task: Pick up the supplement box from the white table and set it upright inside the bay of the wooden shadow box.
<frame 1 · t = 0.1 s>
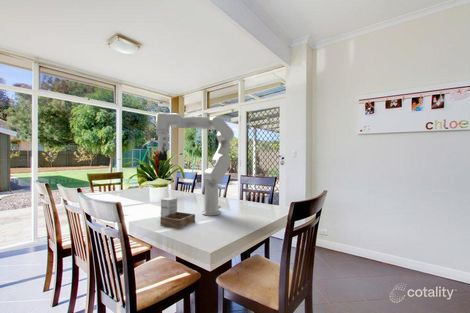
hand: (162, 160, 137), 37 cm above the table, tool pointing down, fingers open, 9 cm apart
supplement box: (169, 218, 141), on the table
wooden shadow box: (178, 223, 130), on the table
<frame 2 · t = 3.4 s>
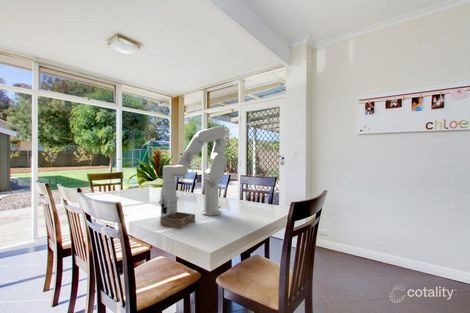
hand: (169, 211, 141), 4 cm above the table, tool pointing down, fingers closed on supplement box, 7 cm apart
supplement box: (169, 218, 141), on the table, touching gripper
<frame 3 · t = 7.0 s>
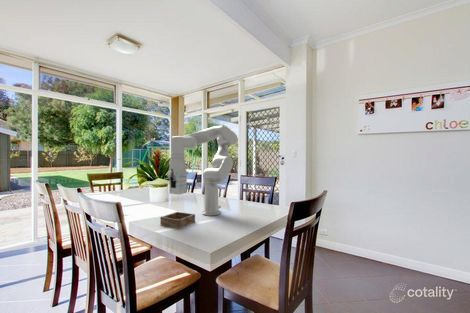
hand: (178, 186, 130), 22 cm above the table, tool pointing down, fingers closed on supplement box, 7 cm apart
supplement box: (178, 193, 130), point 18 cm above the table, touching gripper
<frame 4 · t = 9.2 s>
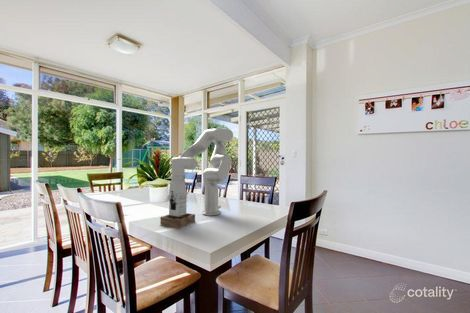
hand: (177, 208, 130), 9 cm above the table, tool pointing down, fingers closed on supplement box, 7 cm apart
supplement box: (177, 215, 130), point 5 cm above the table, touching gripper
when the fingers open (7 cm above the table, at t = 10.8 s): supplement box drops 2 cm, resting on wooden shadow box.
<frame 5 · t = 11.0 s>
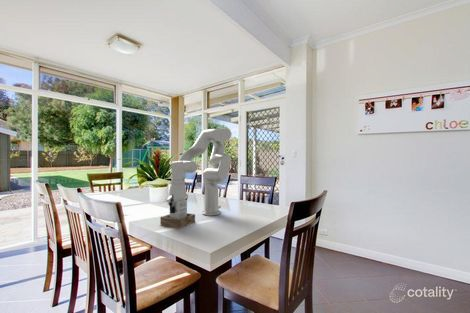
hand: (178, 211, 130), 7 cm above the table, tool pointing down, fingers open, 9 cm apart
supplement box: (178, 221, 130), point 1 cm above the table, touching wooden shadow box
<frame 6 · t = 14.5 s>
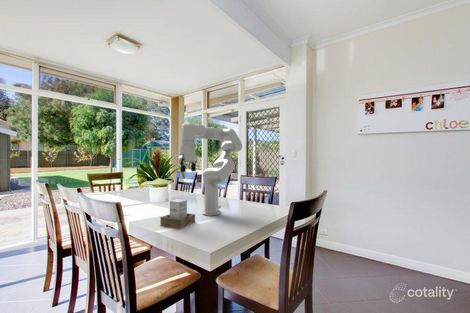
hand: (188, 171, 135), 30 cm above the table, tool pointing down, fingers open, 9 cm apart
nothing on the table moved.
at the end: supplement box 0.2 cm off-centre on the wooden shadow box, point 0.8 cm above the wooden shadow box's base; supplement box tilted 0°; the gripper is holding nothing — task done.
